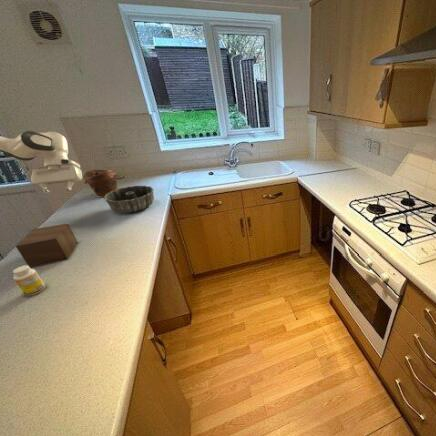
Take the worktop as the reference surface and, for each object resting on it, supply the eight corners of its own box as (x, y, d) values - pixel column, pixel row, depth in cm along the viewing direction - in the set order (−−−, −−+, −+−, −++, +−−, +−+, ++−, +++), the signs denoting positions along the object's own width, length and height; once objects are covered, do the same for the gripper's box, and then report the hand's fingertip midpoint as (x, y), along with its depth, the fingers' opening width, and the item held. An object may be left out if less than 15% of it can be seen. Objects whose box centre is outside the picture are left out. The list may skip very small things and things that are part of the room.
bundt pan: (165, 204, 156) (161, 190, 151) (122, 220, 136) (115, 204, 132) (144, 196, 169) (140, 182, 164) (102, 209, 150) (96, 194, 145)
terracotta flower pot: (94, 191, 178) (84, 168, 170) (125, 187, 185) (117, 164, 176) (86, 200, 163) (75, 175, 155) (120, 195, 170) (111, 171, 162)
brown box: (44, 249, 112) (32, 229, 107) (78, 242, 116) (68, 223, 111) (29, 267, 100) (15, 246, 95) (67, 259, 105) (56, 238, 100)
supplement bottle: (27, 288, 89) (12, 267, 84) (47, 283, 91) (33, 261, 87) (22, 298, 85) (6, 276, 80) (43, 292, 87) (29, 270, 82)
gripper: (26, 164, 114) (27, 192, 112) (74, 159, 117) (75, 186, 115) (38, 169, 120) (39, 196, 118) (83, 164, 123) (85, 190, 121)
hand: (57, 191), depth 117 cm, fingers open, 8 cm apart
